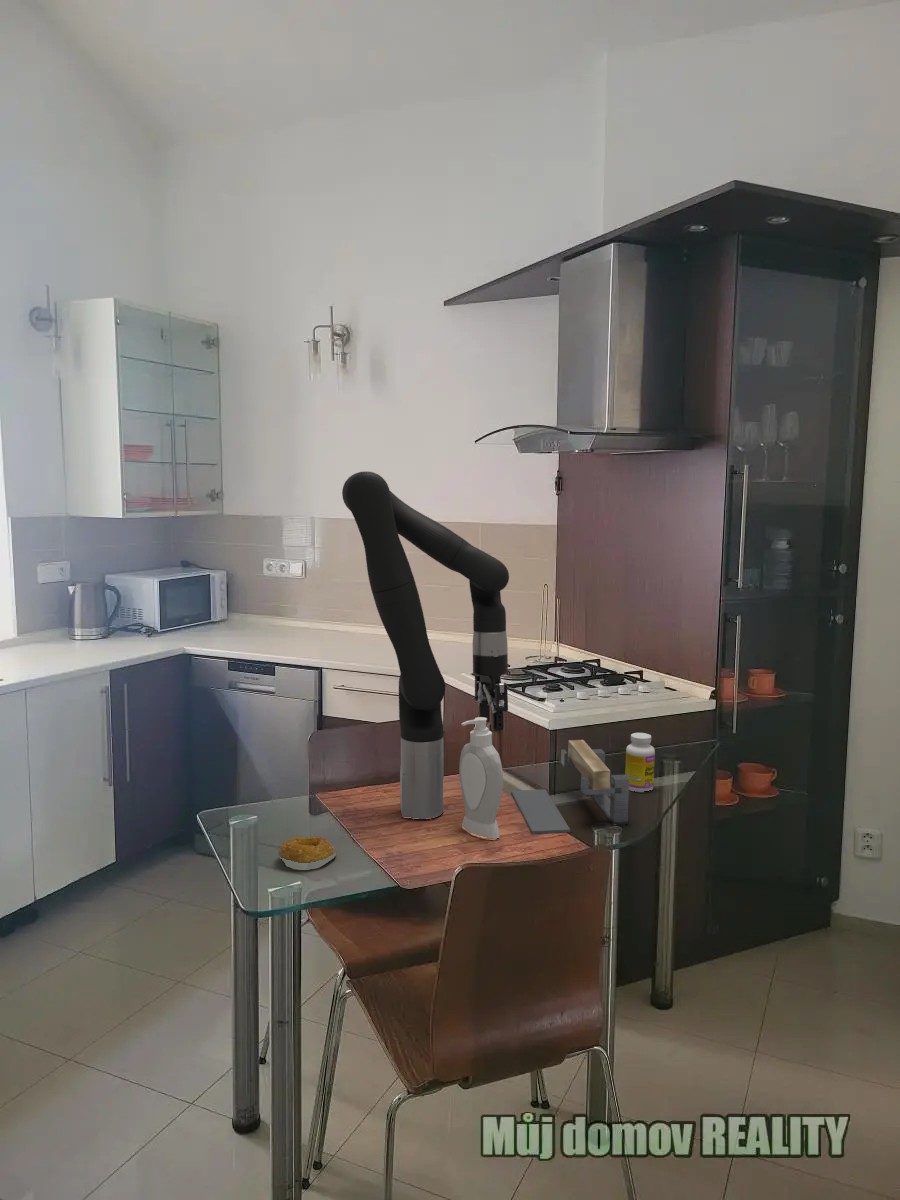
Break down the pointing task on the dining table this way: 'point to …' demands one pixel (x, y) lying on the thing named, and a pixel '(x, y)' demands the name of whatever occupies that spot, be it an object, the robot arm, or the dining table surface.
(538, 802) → the mat
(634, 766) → the supplement bottle
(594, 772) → the rail
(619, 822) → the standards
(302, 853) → the bagel
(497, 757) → the soap bottle
